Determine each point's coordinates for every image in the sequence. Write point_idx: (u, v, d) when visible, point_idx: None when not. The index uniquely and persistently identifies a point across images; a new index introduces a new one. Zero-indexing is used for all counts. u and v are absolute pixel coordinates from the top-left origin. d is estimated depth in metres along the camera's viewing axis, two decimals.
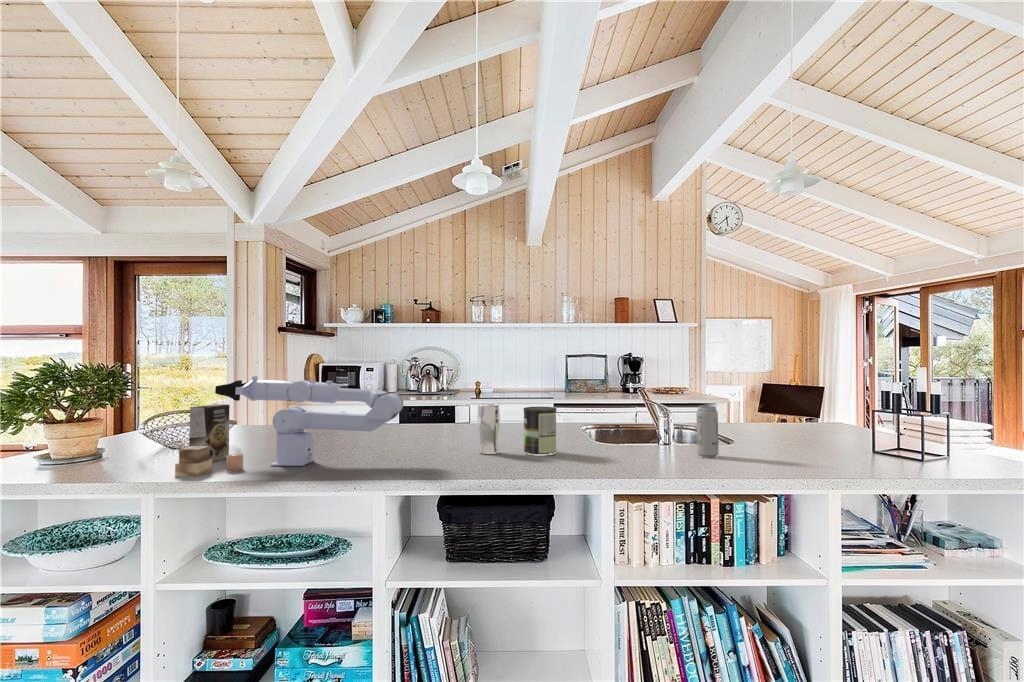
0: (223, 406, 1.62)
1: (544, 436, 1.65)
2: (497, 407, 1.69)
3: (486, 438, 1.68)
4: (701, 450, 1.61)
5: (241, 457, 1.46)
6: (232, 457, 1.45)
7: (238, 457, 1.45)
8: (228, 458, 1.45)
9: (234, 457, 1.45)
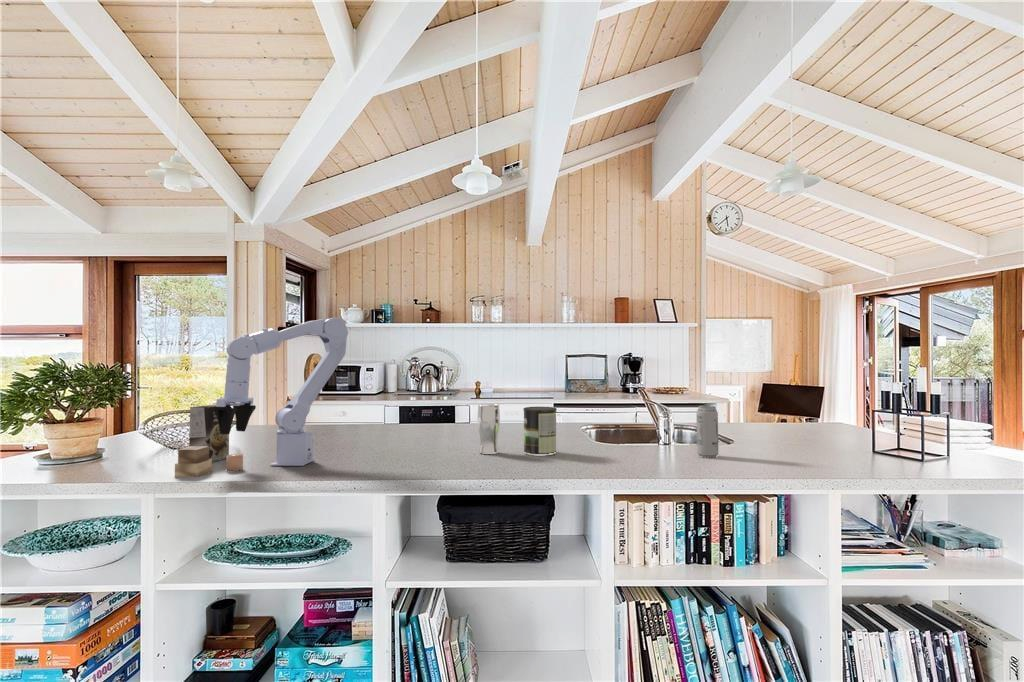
0: None
1: (544, 436, 1.65)
2: (497, 407, 1.69)
3: (486, 438, 1.68)
4: (701, 450, 1.61)
5: (241, 457, 1.46)
6: (232, 457, 1.45)
7: (238, 457, 1.45)
8: (228, 458, 1.45)
9: (234, 457, 1.45)
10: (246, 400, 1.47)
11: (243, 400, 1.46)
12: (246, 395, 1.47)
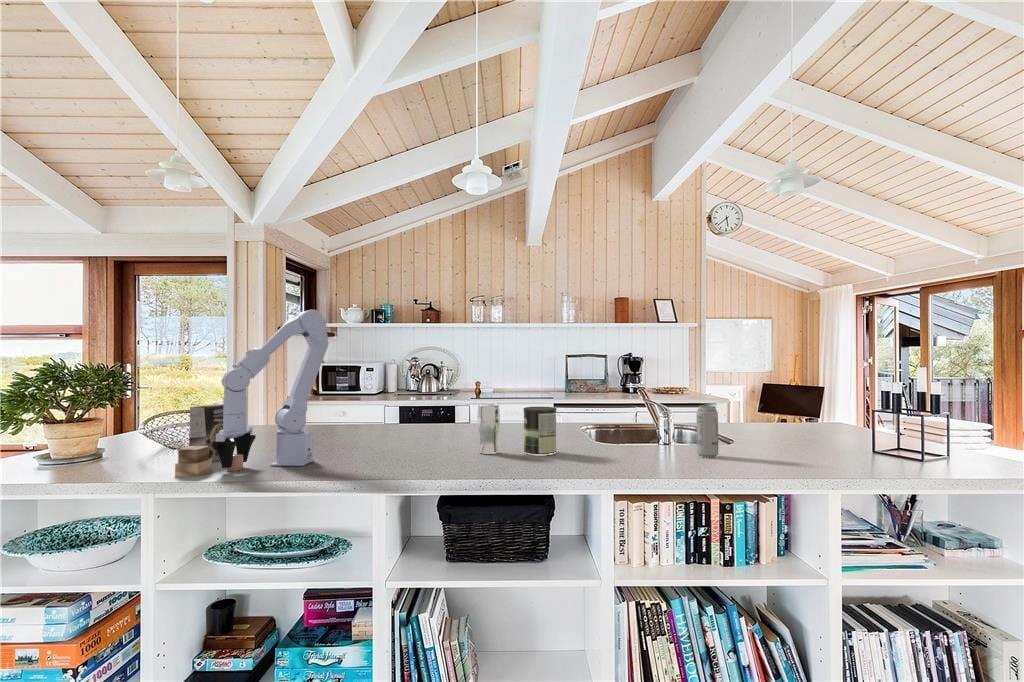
0: None
1: (544, 436, 1.65)
2: (497, 407, 1.69)
3: (486, 438, 1.68)
4: (702, 450, 1.61)
5: (241, 457, 1.46)
6: None
7: (238, 457, 1.45)
8: None
9: (234, 457, 1.45)
10: (245, 431, 1.47)
11: (242, 432, 1.45)
12: (245, 426, 1.47)
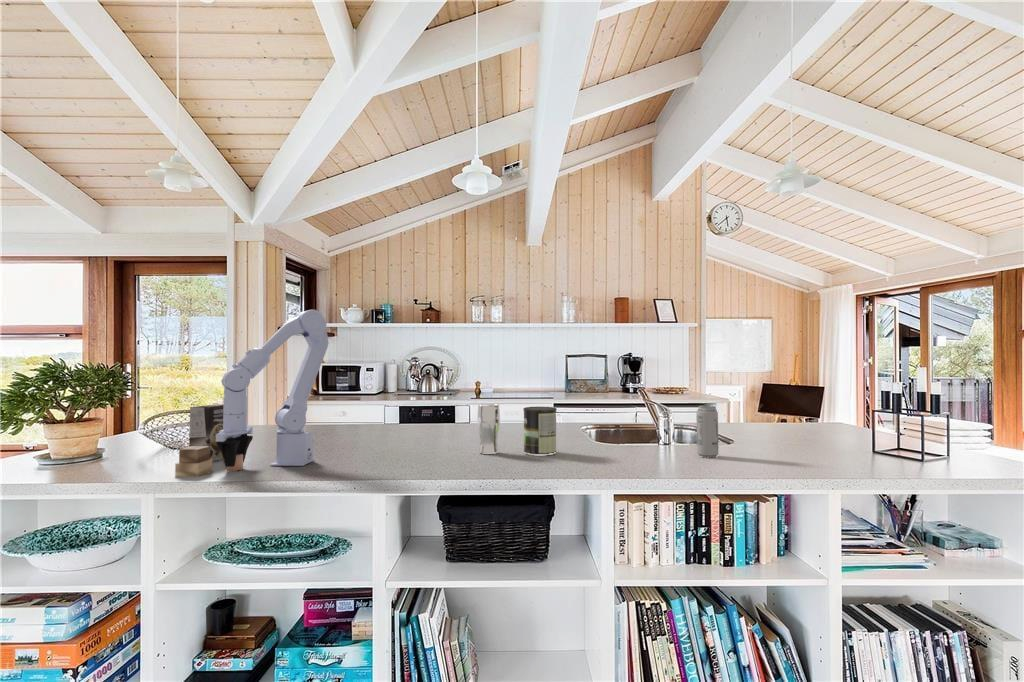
0: None
1: (544, 436, 1.65)
2: (497, 407, 1.69)
3: (486, 438, 1.68)
4: (701, 450, 1.61)
5: (241, 457, 1.46)
6: None
7: (238, 457, 1.45)
8: None
9: None
10: (245, 431, 1.47)
11: (242, 432, 1.45)
12: (245, 426, 1.47)
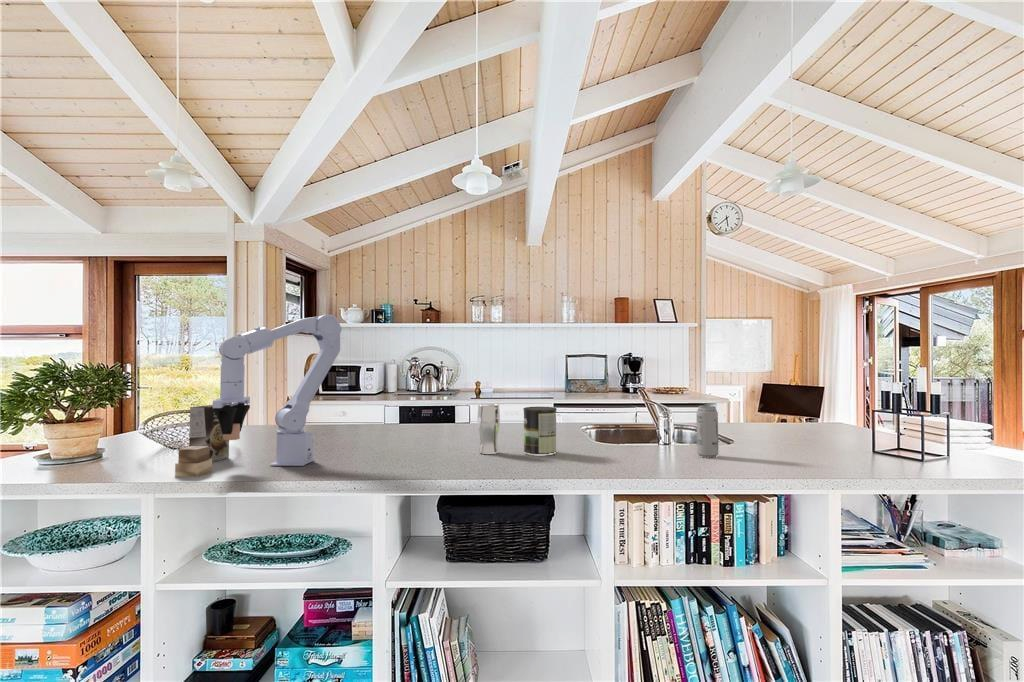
0: None
1: (544, 436, 1.65)
2: (497, 407, 1.69)
3: (486, 438, 1.68)
4: (701, 450, 1.61)
5: (238, 426, 1.46)
6: None
7: (235, 426, 1.45)
8: None
9: None
10: (242, 400, 1.46)
11: (239, 400, 1.45)
12: (242, 395, 1.47)
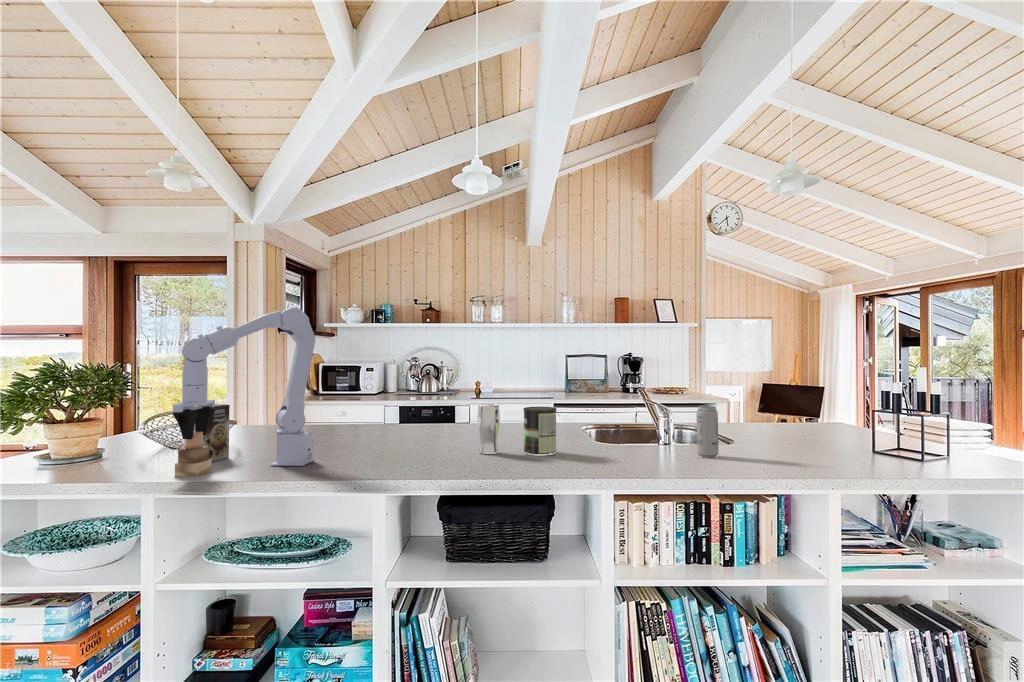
0: (223, 406, 1.62)
1: (544, 436, 1.65)
2: (497, 407, 1.69)
3: (486, 438, 1.68)
4: (701, 450, 1.61)
5: (201, 434, 1.42)
6: None
7: (198, 434, 1.41)
8: None
9: (193, 434, 1.40)
10: (205, 403, 1.42)
11: (202, 403, 1.41)
12: (205, 398, 1.42)
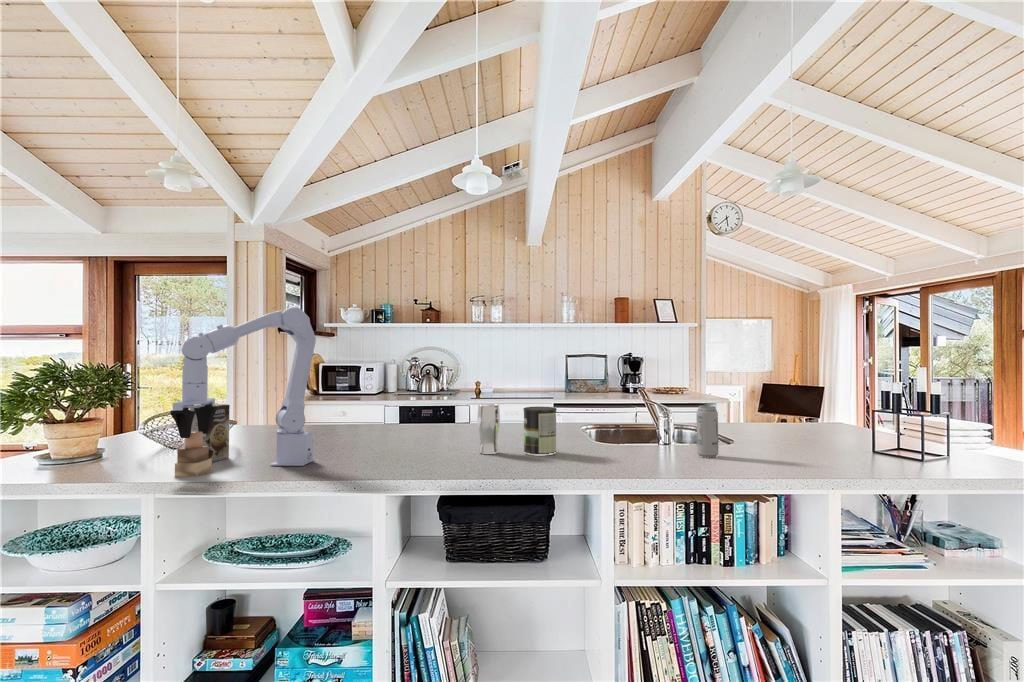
0: (223, 406, 1.62)
1: (544, 436, 1.65)
2: (497, 407, 1.69)
3: (486, 438, 1.68)
4: (701, 450, 1.61)
5: (200, 434, 1.42)
6: (191, 434, 1.40)
7: (197, 434, 1.41)
8: None
9: (193, 434, 1.41)
10: (205, 401, 1.42)
11: (202, 402, 1.41)
12: (205, 396, 1.42)
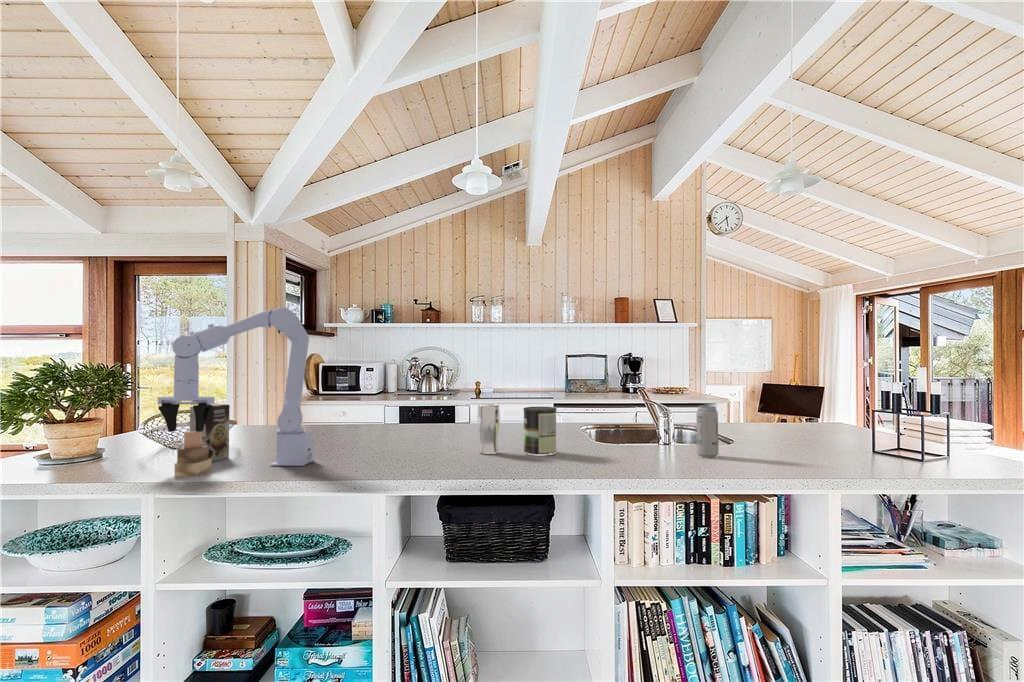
0: (223, 406, 1.62)
1: (544, 436, 1.65)
2: (497, 407, 1.69)
3: (486, 438, 1.68)
4: (701, 450, 1.61)
5: (200, 434, 1.42)
6: (190, 434, 1.40)
7: (196, 434, 1.41)
8: (186, 435, 1.40)
9: (192, 434, 1.40)
10: (178, 399, 1.44)
11: (174, 399, 1.44)
12: (179, 394, 1.44)
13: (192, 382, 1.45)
